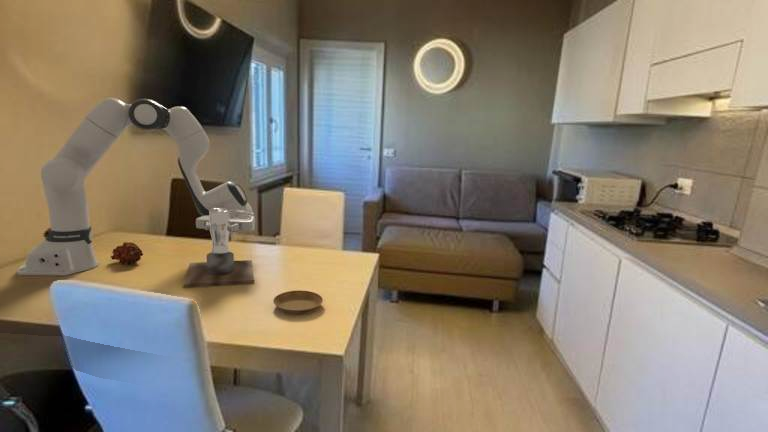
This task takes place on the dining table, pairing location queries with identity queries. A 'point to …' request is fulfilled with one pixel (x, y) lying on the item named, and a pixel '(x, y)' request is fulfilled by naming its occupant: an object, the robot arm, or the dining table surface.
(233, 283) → the post stand
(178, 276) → the dining table surface
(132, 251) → the brown pine cone
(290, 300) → the plant saucer
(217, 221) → the beer glass
